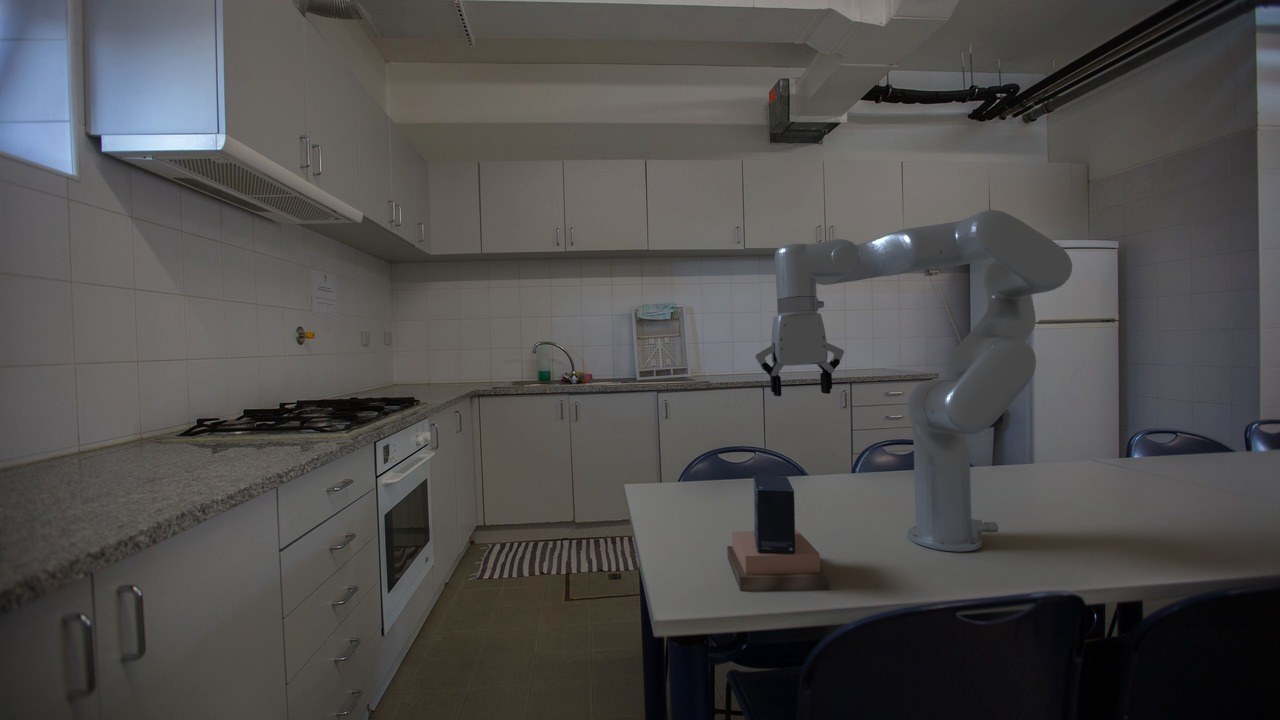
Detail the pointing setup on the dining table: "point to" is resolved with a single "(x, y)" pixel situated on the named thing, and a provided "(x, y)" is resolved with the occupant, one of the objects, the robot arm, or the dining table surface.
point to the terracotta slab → (774, 556)
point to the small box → (774, 514)
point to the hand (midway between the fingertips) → (801, 394)
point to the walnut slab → (776, 578)
